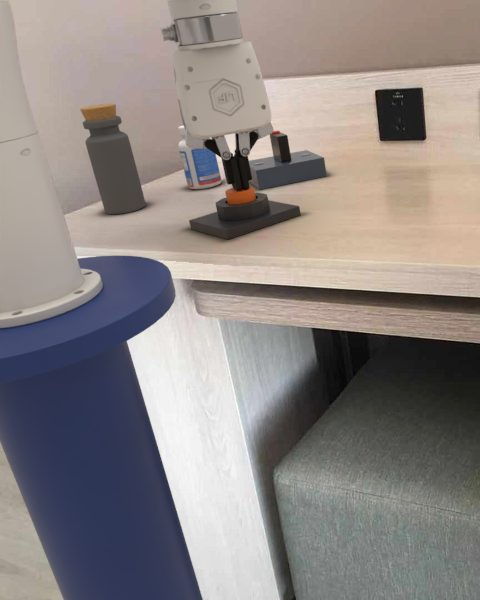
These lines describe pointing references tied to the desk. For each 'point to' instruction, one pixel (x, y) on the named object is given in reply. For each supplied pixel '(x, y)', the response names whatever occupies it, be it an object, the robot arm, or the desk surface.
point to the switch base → (243, 217)
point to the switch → (240, 195)
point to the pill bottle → (198, 165)
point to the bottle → (112, 160)
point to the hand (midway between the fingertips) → (240, 187)
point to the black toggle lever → (280, 146)
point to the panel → (286, 169)
